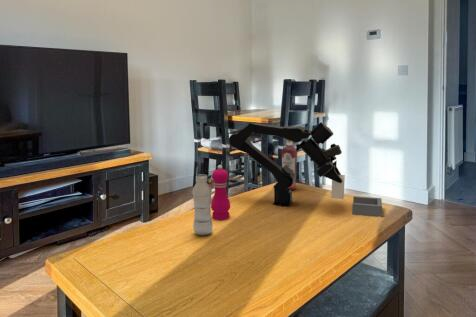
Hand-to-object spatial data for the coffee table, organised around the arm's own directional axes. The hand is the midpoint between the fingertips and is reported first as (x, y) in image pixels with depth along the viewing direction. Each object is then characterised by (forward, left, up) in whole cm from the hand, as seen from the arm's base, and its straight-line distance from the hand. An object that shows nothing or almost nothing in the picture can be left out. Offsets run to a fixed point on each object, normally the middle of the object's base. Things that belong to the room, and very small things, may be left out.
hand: (342, 181), depth 153 cm
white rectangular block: (-1, 0, -7) cm, 7 cm away
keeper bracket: (+10, +1, -11) cm, 15 cm away
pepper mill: (-39, -27, -11) cm, 49 cm away
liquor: (-27, +20, -11) cm, 36 cm away
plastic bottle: (-37, -44, -11) cm, 59 cm away
